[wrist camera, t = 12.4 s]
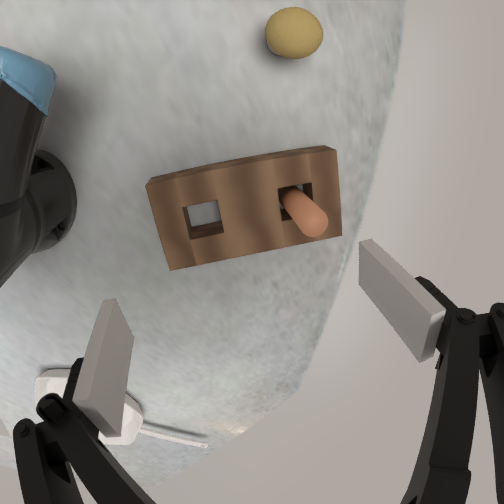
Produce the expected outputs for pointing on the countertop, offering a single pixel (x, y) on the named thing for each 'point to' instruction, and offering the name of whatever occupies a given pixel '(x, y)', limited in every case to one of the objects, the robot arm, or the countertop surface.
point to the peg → (303, 211)
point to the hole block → (243, 205)
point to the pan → (131, 415)
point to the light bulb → (293, 33)
